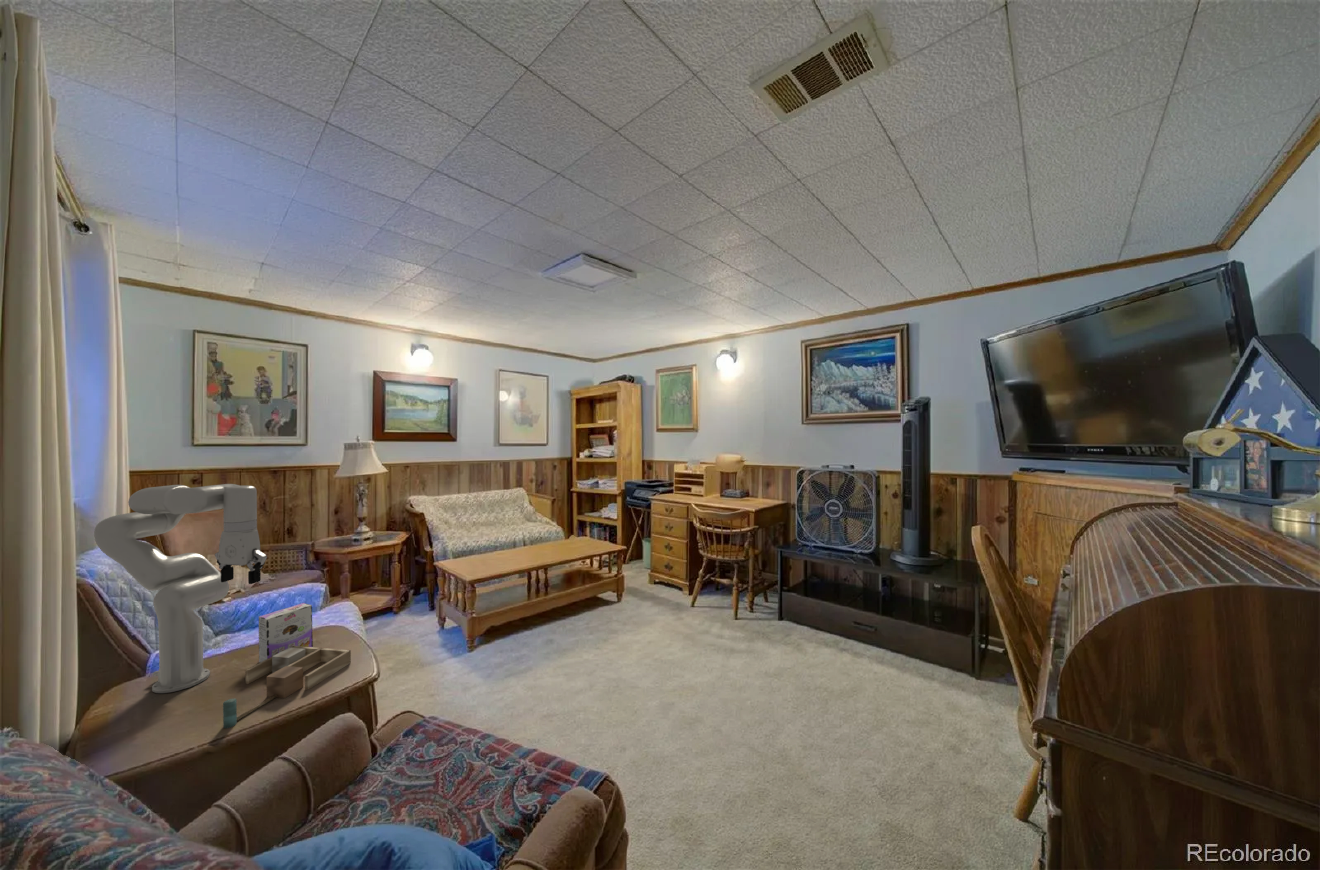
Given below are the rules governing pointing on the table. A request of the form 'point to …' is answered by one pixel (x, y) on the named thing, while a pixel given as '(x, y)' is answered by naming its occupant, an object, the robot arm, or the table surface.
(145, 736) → the table surface
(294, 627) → the candy box
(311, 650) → the lane organizer
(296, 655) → the grey block
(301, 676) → the tethered block
